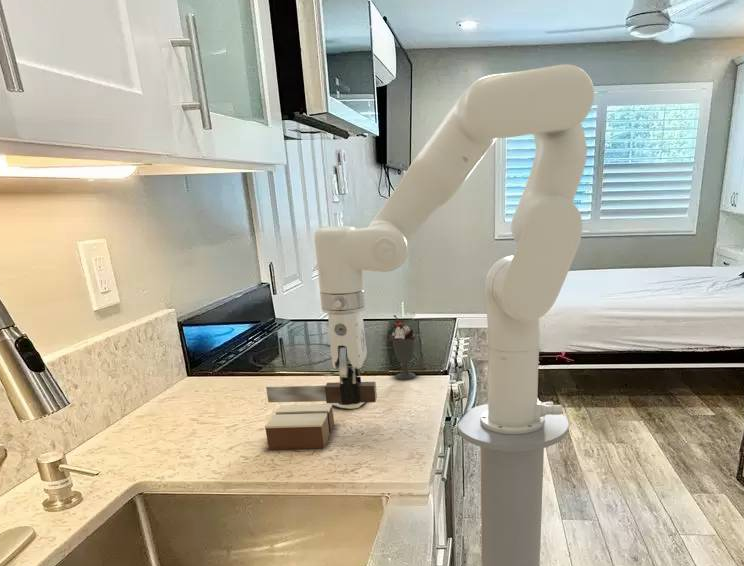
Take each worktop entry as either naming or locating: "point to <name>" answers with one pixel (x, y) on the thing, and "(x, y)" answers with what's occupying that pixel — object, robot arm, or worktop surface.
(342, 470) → the worktop surface
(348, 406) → the dessert
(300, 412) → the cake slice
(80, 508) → the worktop surface
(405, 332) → the sundae
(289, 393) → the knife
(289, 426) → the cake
